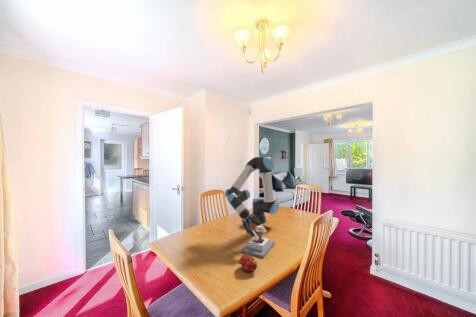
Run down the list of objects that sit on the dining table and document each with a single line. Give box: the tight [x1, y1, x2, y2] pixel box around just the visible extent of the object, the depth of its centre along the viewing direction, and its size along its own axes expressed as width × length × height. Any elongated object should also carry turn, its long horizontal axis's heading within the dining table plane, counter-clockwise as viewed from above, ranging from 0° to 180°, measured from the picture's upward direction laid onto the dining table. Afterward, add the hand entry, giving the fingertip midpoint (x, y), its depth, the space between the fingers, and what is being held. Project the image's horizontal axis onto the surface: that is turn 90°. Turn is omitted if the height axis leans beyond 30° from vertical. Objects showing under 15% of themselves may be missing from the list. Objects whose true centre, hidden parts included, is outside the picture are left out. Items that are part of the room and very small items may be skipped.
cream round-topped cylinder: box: [254, 225, 263, 244], centre depth 130 cm, size 4×4×13 cm
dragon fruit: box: [238, 253, 258, 274], centre depth 105 cm, size 8×8×12 cm
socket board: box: [240, 237, 276, 259], centre depth 130 cm, size 22×16×5 cm
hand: (261, 236), depth 129 cm, fingers open, 13 cm apart
